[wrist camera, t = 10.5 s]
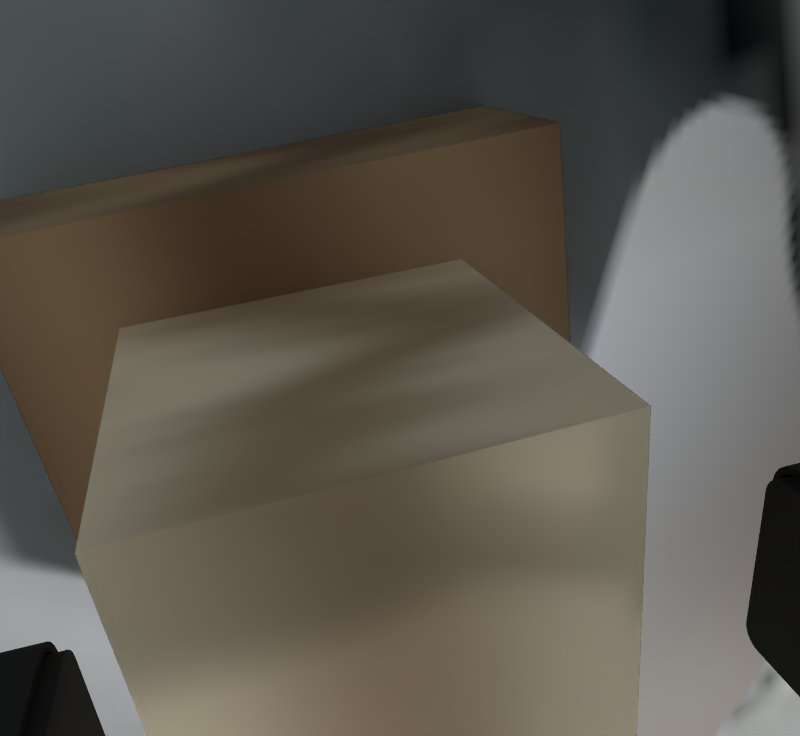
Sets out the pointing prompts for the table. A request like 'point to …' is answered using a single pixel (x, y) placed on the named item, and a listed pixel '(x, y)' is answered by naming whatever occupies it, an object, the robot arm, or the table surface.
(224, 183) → the pedestal
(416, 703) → the beech cube
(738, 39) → the table surface
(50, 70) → the table surface
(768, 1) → the table surface
